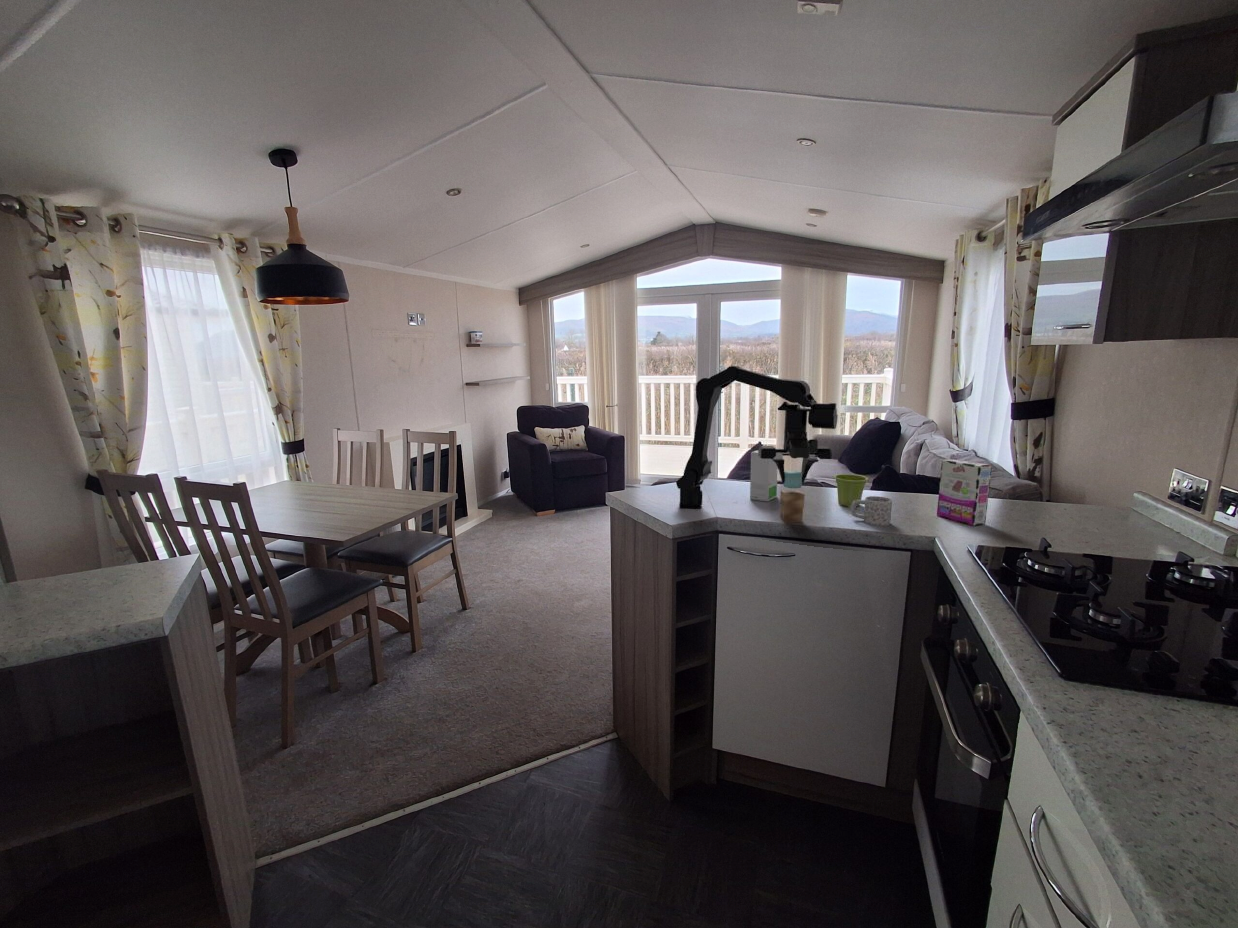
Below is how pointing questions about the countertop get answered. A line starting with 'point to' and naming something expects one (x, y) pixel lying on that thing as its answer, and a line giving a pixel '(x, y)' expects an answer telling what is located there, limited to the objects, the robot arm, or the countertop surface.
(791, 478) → the teal block
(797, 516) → the tower base
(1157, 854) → the countertop surface
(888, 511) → the mug
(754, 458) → the skincare box
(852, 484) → the plant pot
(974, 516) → the candy bar box
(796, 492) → the tan wooden block
